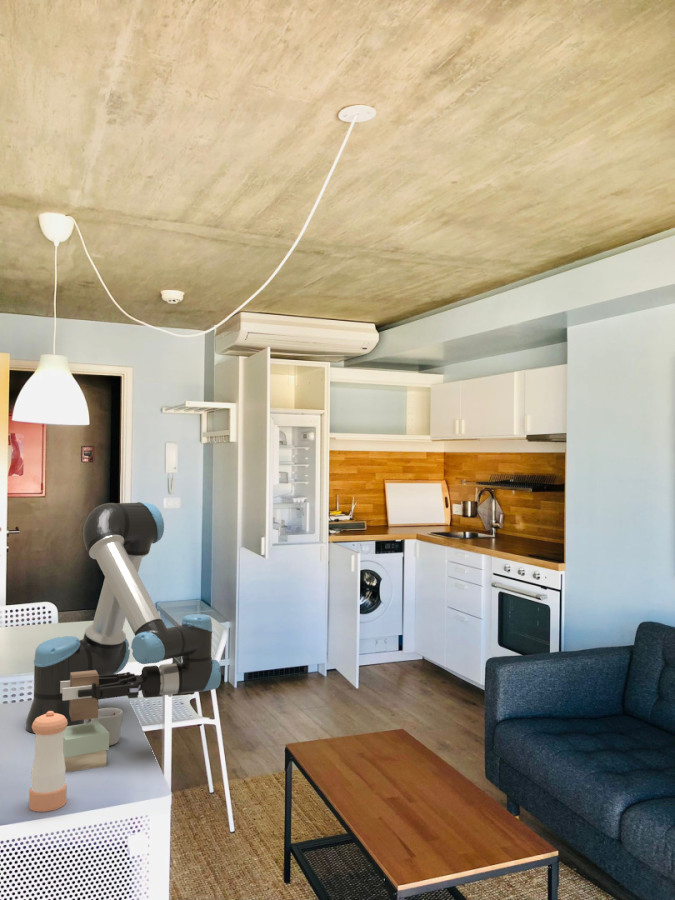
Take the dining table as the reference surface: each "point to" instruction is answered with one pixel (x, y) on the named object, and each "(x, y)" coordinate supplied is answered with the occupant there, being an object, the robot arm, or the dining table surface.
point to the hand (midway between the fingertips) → (61, 690)
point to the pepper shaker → (48, 764)
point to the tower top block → (85, 739)
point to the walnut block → (84, 706)
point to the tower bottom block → (85, 761)
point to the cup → (110, 722)
